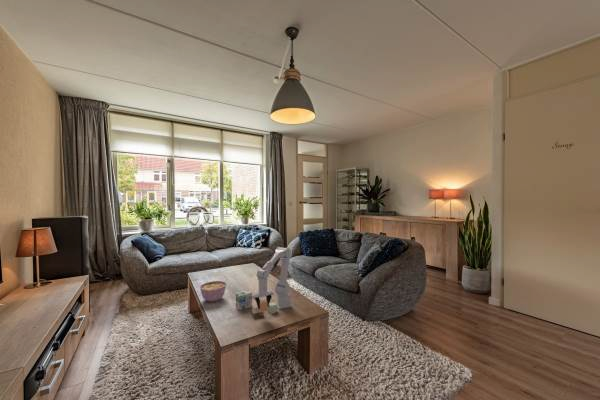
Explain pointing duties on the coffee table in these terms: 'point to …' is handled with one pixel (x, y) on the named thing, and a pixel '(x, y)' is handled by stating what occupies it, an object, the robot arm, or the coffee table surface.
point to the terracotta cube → (263, 305)
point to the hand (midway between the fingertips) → (263, 307)
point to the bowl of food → (213, 290)
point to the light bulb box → (243, 300)
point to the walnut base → (257, 313)
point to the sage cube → (272, 307)
